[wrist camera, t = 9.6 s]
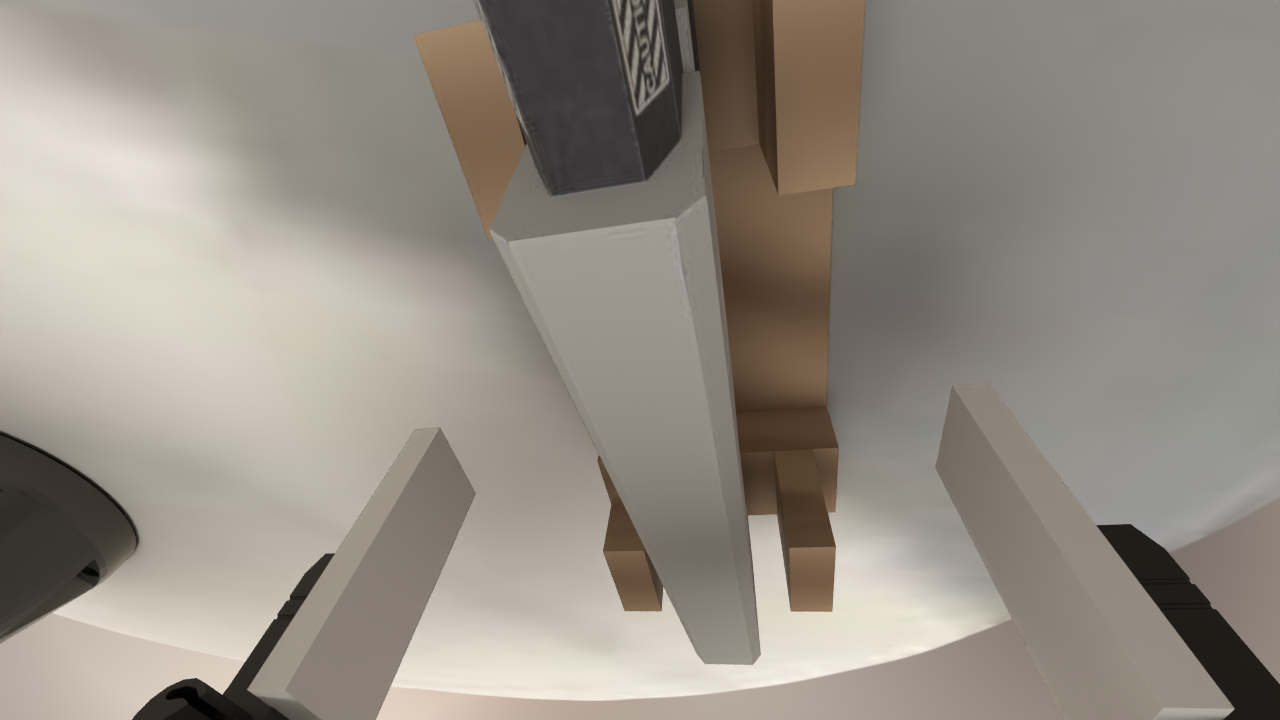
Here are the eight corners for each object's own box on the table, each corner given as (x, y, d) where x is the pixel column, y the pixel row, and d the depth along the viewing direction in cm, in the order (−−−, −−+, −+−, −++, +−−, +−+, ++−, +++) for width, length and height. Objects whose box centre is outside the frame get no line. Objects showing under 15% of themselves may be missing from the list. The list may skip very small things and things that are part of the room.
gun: (666, -305, 9) (613, -564, 2) (743, 453, 27) (762, 669, 20) (531, -259, 9) (162, -364, 3) (695, 456, 28) (699, 668, 21)
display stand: (820, 468, 26) (858, 625, 20) (629, 477, 28) (606, 623, 21) (833, -97, 14) (948, -179, 7) (490, -13, 16) (339, -18, 9)
